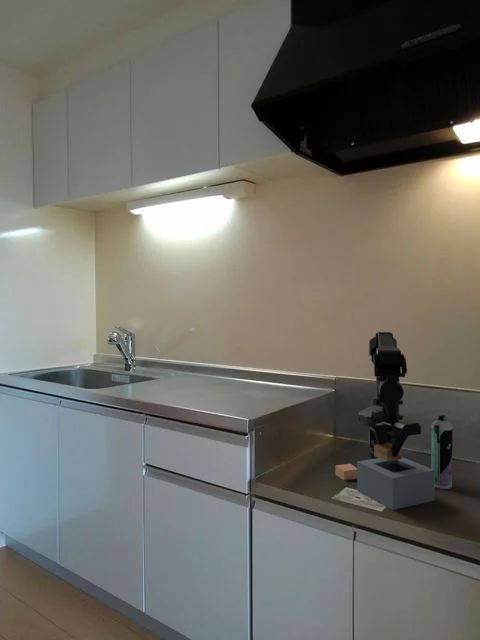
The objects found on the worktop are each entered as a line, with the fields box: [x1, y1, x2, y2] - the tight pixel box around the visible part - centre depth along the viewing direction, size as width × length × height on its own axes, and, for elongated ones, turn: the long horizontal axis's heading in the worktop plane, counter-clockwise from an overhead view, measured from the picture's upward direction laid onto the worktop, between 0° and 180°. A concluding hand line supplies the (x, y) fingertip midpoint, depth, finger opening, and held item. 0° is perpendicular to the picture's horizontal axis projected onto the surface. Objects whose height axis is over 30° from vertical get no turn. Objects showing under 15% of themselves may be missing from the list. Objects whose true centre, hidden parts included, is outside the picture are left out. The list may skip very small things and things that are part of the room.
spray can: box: [430, 414, 454, 490], centre depth 135 cm, size 6×6×20 cm
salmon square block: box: [335, 463, 357, 481], centre depth 142 cm, size 5×5×3 cm
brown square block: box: [374, 443, 403, 461], centre depth 129 cm, size 5×5×3 cm
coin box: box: [356, 456, 436, 511], centre depth 128 cm, size 14×14×8 cm
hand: (388, 453), depth 129 cm, fingers closed on brown square block, 5 cm apart
